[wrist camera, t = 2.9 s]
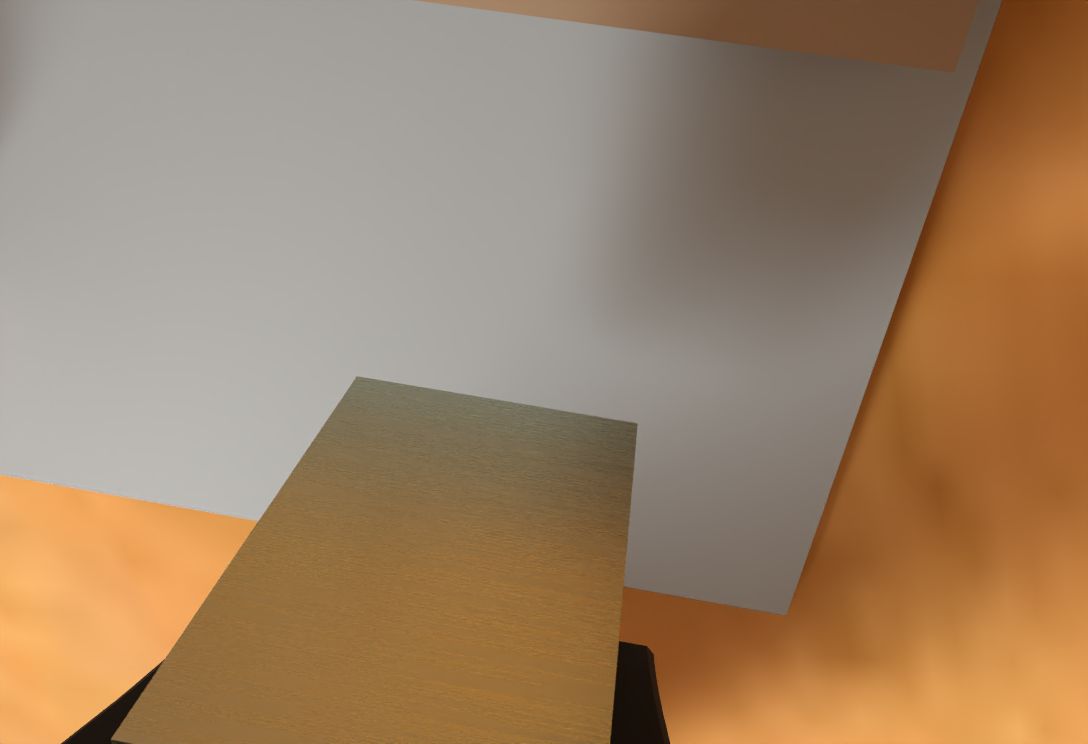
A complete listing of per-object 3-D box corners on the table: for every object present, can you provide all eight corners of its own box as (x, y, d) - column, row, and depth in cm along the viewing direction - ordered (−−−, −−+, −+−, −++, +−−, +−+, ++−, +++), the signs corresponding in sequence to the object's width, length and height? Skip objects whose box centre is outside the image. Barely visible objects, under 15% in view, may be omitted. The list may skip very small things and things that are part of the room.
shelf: (782, 587, 22) (795, 679, 20) (-271, 400, 24) (-383, 462, 22) (1001, -57, 15) (1068, -43, 12) (-571, -251, 17) (-799, -274, 14)
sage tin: (637, 423, 12) (602, 838, 7) (582, 710, 15) (527, 1152, 10) (346, 374, 12) (92, 736, 7) (349, 666, 15) (174, 1071, 10)
